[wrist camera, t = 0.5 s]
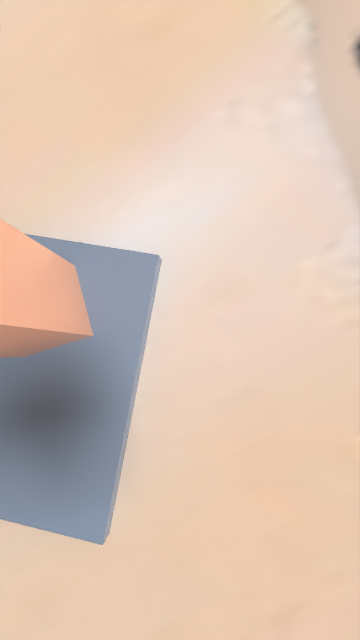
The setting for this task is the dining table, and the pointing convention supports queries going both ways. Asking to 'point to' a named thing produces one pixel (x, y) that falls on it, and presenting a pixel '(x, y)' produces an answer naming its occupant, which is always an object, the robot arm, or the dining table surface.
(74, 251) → the board
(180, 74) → the dining table surface
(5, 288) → the terracotta pillar
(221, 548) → the dining table surface
